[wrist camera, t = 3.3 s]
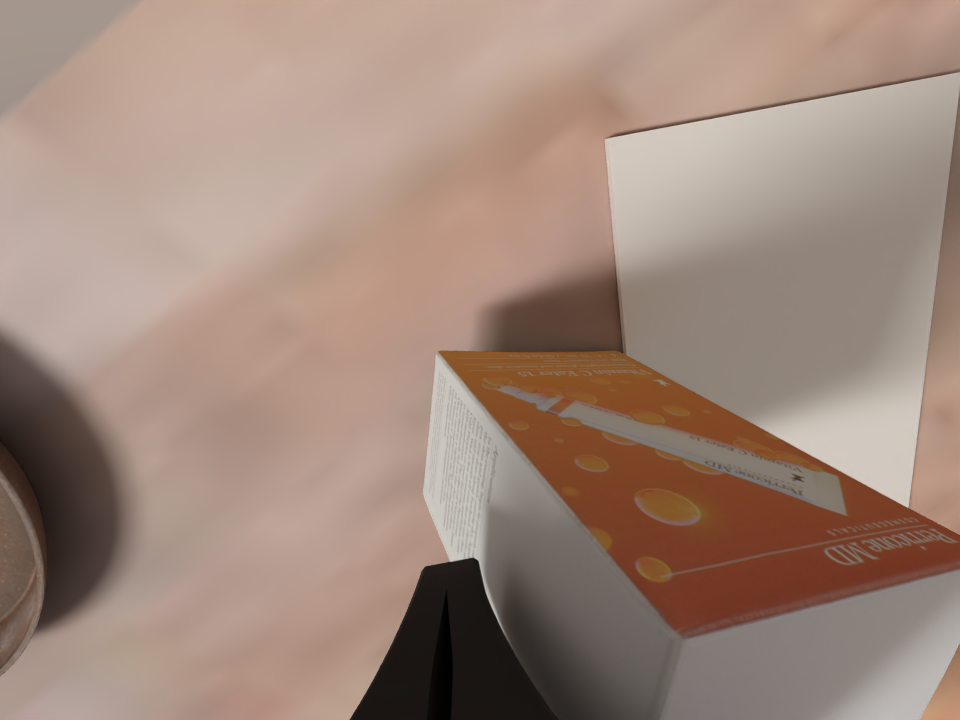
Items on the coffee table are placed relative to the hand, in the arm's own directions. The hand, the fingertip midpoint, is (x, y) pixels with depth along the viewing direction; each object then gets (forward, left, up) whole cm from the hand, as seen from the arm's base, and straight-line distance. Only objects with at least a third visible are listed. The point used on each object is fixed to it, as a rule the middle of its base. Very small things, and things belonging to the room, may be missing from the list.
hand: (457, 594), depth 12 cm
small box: (0, -3, -9) cm, 9 cm away
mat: (0, -14, -10) cm, 17 cm away
